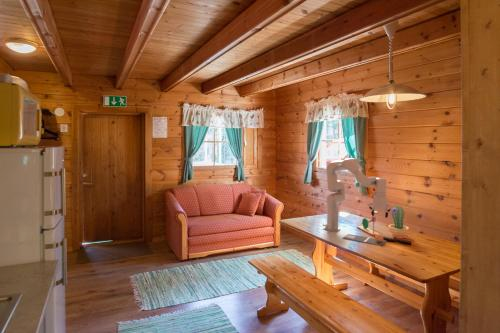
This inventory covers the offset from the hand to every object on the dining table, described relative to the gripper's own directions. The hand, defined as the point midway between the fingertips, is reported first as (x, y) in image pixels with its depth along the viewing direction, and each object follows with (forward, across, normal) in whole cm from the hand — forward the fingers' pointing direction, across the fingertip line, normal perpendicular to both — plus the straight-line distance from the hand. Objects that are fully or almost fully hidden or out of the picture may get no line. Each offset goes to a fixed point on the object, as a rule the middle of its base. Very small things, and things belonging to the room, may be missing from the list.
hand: (379, 216), depth 255 cm
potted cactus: (+20, +9, +25) cm, 34 cm away
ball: (+17, 0, 0) cm, 17 cm away
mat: (+20, -11, 0) cm, 23 cm away
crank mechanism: (+21, -15, +25) cm, 36 cm away
